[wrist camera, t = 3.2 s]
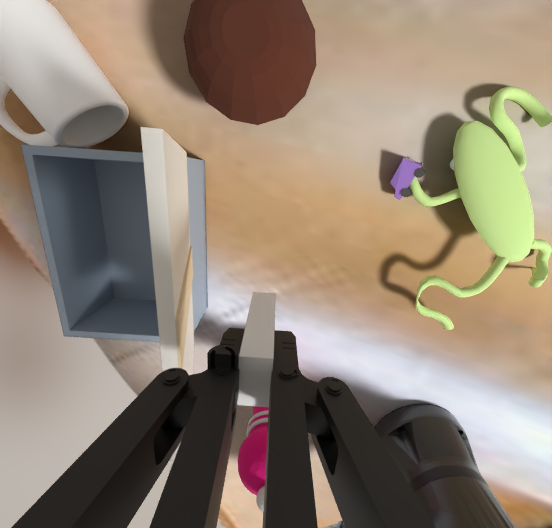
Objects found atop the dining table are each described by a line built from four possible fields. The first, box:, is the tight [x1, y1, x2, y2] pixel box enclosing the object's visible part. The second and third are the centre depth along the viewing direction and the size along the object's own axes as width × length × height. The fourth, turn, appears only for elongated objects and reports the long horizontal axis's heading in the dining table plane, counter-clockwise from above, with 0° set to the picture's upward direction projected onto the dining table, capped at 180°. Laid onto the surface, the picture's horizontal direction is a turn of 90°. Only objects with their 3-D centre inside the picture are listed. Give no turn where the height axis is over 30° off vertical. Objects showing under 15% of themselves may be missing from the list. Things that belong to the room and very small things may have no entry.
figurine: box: [390, 86, 552, 330], centre depth 32 cm, size 18×27×6 cm
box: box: [21, 144, 208, 342], centre depth 31 cm, size 20×14×9 cm
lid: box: [141, 127, 194, 468], centre depth 20 cm, size 21×14×1 cm
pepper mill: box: [238, 406, 269, 512], centre depth 32 cm, size 7×7×20 cm
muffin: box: [184, 0, 316, 125], centre depth 25 cm, size 12×11×10 cm
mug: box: [0, 0, 129, 148], centre depth 27 cm, size 12×10×8 cm
